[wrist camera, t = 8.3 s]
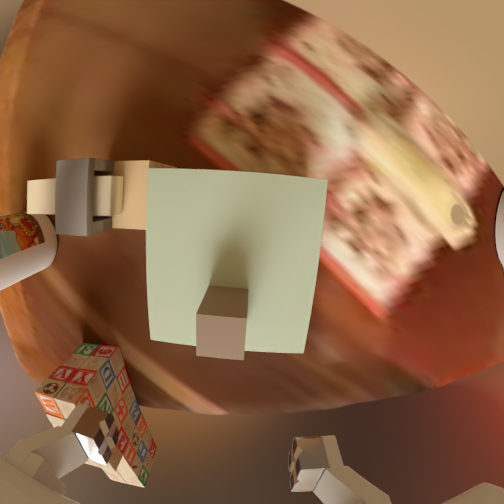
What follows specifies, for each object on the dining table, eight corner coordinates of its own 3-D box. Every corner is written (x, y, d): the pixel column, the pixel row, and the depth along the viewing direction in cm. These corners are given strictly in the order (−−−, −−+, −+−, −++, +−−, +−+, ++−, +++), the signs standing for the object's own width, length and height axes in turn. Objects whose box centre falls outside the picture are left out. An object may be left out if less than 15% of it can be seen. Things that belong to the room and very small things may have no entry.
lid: (324, 180, 20) (350, 177, 14) (301, 347, 23) (313, 390, 17) (153, 168, 20) (118, 163, 14) (154, 333, 23) (129, 372, 17)
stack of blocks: (158, 447, 36) (140, 502, 24) (126, 441, 36) (104, 492, 24) (119, 344, 31) (73, 404, 19) (81, 341, 32) (32, 392, 20)
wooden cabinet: (307, 176, 27) (344, 168, 15) (292, 313, 30) (311, 380, 19) (105, 168, 27) (34, 163, 15) (107, 294, 30) (51, 341, 18)
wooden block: (123, 176, 19) (111, 175, 17) (122, 213, 20) (110, 216, 18) (41, 180, 19) (27, 180, 17) (41, 211, 19) (27, 213, 17)
